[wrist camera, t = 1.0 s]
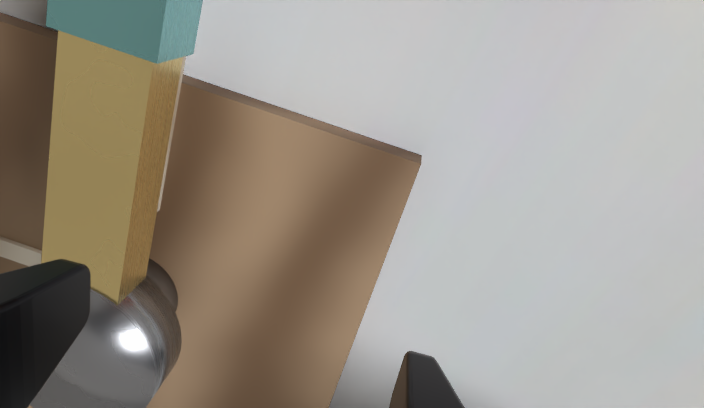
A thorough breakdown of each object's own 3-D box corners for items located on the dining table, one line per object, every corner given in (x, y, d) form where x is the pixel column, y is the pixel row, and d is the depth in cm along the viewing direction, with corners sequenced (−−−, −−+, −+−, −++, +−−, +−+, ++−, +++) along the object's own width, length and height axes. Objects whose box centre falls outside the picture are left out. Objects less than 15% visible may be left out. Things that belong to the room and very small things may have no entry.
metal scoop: (169, 407, 21) (140, 452, 19) (25, 357, 21) (-19, 396, 19) (260, -15, 15) (232, -16, 13) (54, -85, 15) (-7, -96, 13)
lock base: (435, 118, 18) (435, 161, 14) (295, 489, 26) (265, 596, 21) (-92, -60, 19) (-263, -76, 14) (-77, 358, 26) (-185, 436, 22)
